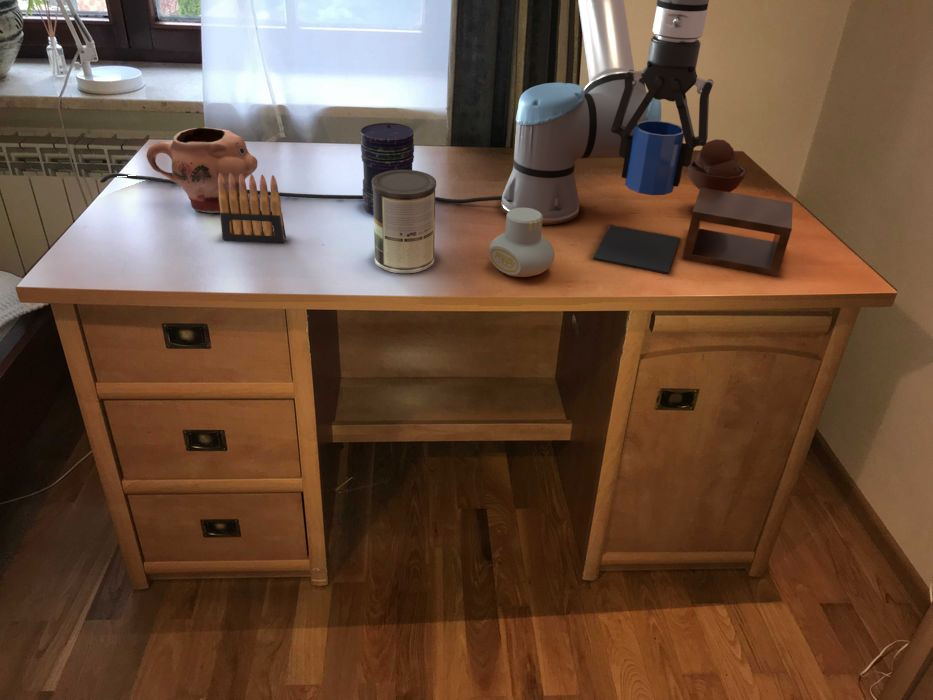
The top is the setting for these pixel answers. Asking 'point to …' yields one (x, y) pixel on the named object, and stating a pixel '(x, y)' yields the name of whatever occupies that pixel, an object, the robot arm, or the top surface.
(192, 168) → the decorative planter
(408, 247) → the coffee can
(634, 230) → the mat
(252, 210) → the ammunition clip
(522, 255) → the air freshener
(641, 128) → the cup
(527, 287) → the top surface
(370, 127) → the storage jar
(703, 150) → the ice cream bowl
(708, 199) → the shelf
